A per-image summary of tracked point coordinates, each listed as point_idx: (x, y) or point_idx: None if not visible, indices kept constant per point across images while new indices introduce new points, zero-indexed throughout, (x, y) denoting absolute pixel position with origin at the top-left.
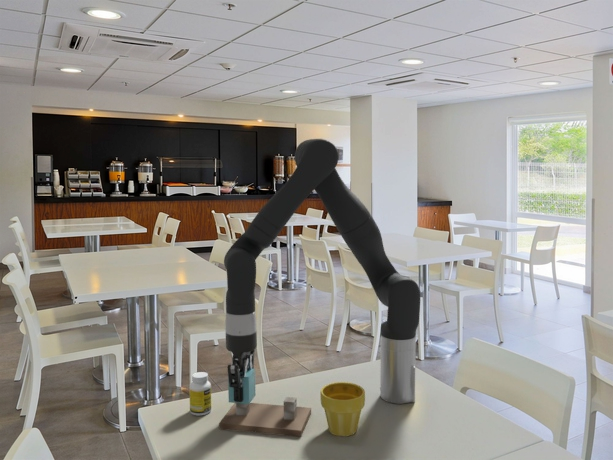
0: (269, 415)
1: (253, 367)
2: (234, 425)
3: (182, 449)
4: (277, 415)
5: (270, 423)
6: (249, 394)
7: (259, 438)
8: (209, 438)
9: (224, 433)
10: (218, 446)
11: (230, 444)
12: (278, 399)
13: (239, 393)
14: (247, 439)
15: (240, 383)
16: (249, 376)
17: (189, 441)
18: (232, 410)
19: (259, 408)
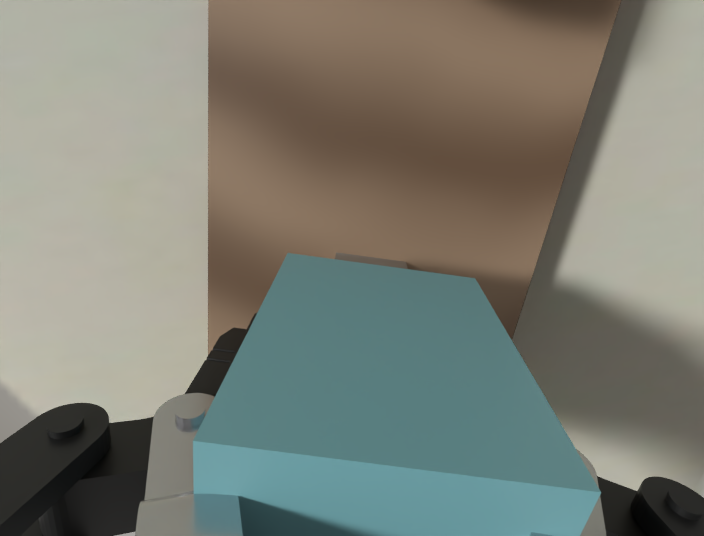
0: (397, 97)
1: (19, 443)
2: (518, 309)
3: (665, 474)
4: (395, 27)
5: (531, 69)
6: (479, 315)
7: (629, 132)
8: (580, 394)
9: (535, 339)
10: (675, 341)
11: (667, 288)
12: (37, 78)
13: None
14: (627, 206)
15: (671, 521)
16: (547, 476)
17: (595, 464)
18: None
19: (286, 192)
